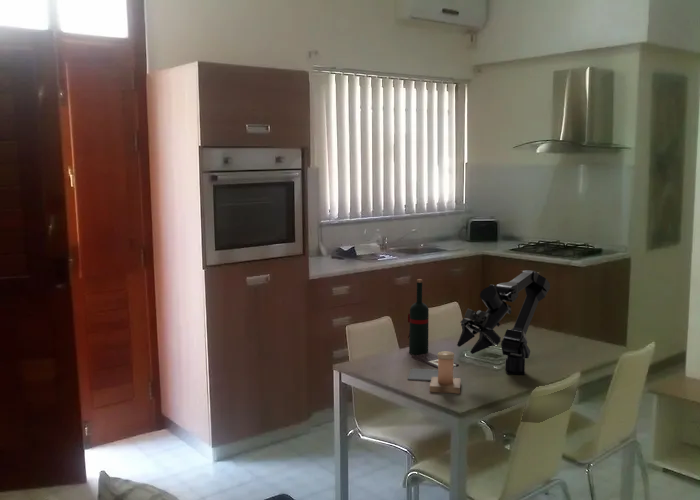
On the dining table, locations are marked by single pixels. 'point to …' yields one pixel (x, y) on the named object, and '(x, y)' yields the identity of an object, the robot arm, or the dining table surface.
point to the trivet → (445, 386)
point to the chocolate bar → (429, 359)
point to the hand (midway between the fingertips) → (464, 349)
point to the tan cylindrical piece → (445, 367)
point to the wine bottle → (418, 324)
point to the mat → (422, 374)
